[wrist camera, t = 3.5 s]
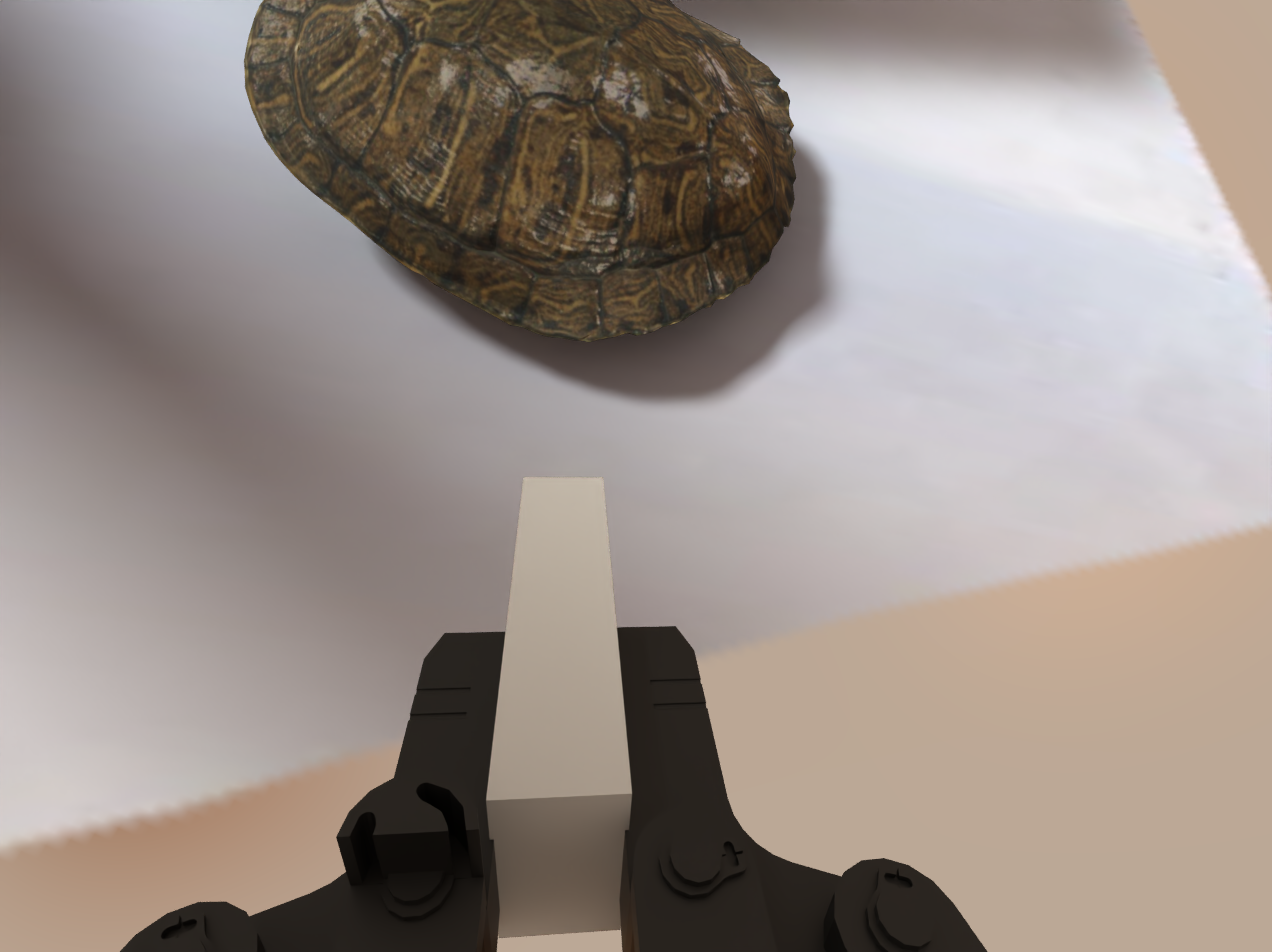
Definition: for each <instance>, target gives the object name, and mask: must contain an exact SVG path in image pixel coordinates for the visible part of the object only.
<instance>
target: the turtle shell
mask: <svg viewBox="0 0 1272 952" xmlns="http://www.w3.org/2000/svg"><path fill="white" fill-rule="evenodd" d="M244 67H245V89H246V92H247V95H248V99H249V102H250V105H251V108H252V111H253V113H254V115H255V118H256V120H257V122H258V125H259V127H260V129H261V131H262V134H263V136H264V138H265V140H266V141H267V143H268V144H269V146H270V147H271V149H272V150H273V152H274V153H275V155H276V156H277V157H278V158H279V160H280V161H281V162H282V163H283V164H284V165H285V166H286V167H287V169H288V170H289V171H290V172H291V173H292V174H293V175H294V176H295V177H296V178H297V179H298V180H299V181H300V182H301V183H302V184H303V185H305V186H306V187H307V188H308V189H309V190H310V191H311V192H313V193H314V194H315V195H316V196H318V197H319V198H320V199H322V200H323V201H324V202H326V203H327V204H328V205H330V206H331V207H332V208H333V209H335V210H336V211H337V212H339V213H340V214H341V215H342V216H344V217H345V218H346V219H348V220H349V221H350V222H351V223H353V224H354V225H355V226H356V227H357V228H358V229H360V230H361V231H362V232H363V233H364V234H365V235H367V236H368V237H369V238H370V239H371V240H373V241H374V242H375V243H376V244H378V245H379V246H380V247H381V248H382V249H384V250H385V251H386V252H387V253H389V254H390V255H391V256H392V257H394V258H395V259H396V260H398V261H399V262H400V263H402V264H403V265H405V266H406V267H407V268H409V269H410V270H412V271H414V272H416V273H419V274H421V275H423V276H424V277H426V278H427V279H428V280H429V281H431V282H432V283H433V284H435V285H437V286H439V287H440V288H442V289H444V290H446V291H448V292H450V293H452V294H453V295H455V296H457V297H459V298H461V299H463V300H465V301H467V302H469V303H470V304H472V305H474V306H476V307H478V308H480V309H482V310H484V311H486V312H488V313H490V314H491V315H493V316H495V317H497V318H498V319H500V320H502V321H504V322H506V323H507V324H509V325H513V326H520V327H523V328H525V329H528V330H530V331H532V332H534V333H537V334H540V335H544V336H547V337H558V338H565V339H571V340H580V341H586V342H592V341H595V340H599V339H604V338H610V337H615V336H619V335H622V334H625V333H630V334H633V335H636V336H637V335H642V334H646V333H650V332H653V331H655V330H657V329H659V328H661V327H664V326H667V325H671V324H675V323H678V322H680V321H682V320H684V319H685V318H687V317H688V316H690V315H691V314H693V313H695V312H696V311H698V310H700V309H702V308H708V307H711V306H712V305H713V303H714V302H715V300H716V299H725V298H726V297H727V296H729V295H730V294H732V293H733V292H734V291H735V290H736V289H737V288H738V287H740V286H743V285H746V284H749V283H750V281H751V280H752V278H753V277H754V275H755V274H756V273H757V272H758V271H759V270H760V269H761V268H762V267H763V266H764V265H765V264H767V263H768V262H769V259H770V255H771V251H772V249H773V247H774V246H775V245H776V244H777V242H778V241H779V239H780V237H781V235H782V234H783V232H784V227H789V224H790V221H791V217H790V213H791V210H792V207H793V204H794V191H793V183H794V181H795V179H796V174H795V170H794V165H793V161H792V159H793V157H794V155H795V153H796V151H795V149H794V148H793V141H792V139H791V137H790V136H789V134H790V132H791V130H792V128H793V126H794V125H793V123H792V121H791V119H790V116H789V104H790V100H789V97H788V93H787V92H785V91H784V90H782V89H781V88H780V87H779V86H778V84H779V82H780V79H779V78H777V77H776V76H775V75H774V74H773V73H772V71H771V70H770V68H769V67H768V66H766V65H765V64H763V63H762V62H761V61H759V60H758V59H756V58H755V57H754V56H753V55H751V54H750V53H749V52H748V51H746V50H745V49H744V48H743V47H742V46H741V45H740V39H737V38H735V37H732V36H730V35H728V34H726V33H724V32H722V31H720V30H718V29H716V28H714V27H713V26H711V25H709V24H707V23H705V22H703V21H700V20H698V19H696V18H694V17H692V16H690V15H688V14H686V13H684V12H682V11H681V10H679V9H678V8H677V7H675V5H674V4H673V3H672V2H671V1H670V0H263V2H262V3H261V4H260V6H259V8H258V11H257V13H256V16H255V18H254V21H253V25H252V28H251V31H250V34H249V38H248V42H247V47H246V53H245V59H244Z"/></svg>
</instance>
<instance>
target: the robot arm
mask: <svg viewBox="0 0 1272 952" xmlns="http://www.w3.org/2000/svg"><path fill="white" fill-rule="evenodd" d="M336 838H337V841H338V845H339V848H340V852H341V855H342V859H343V862H344V866H345V869H346V872H345V873H344V874H343V875H341V876H340V877H338V878H337V879H336V880H334V881H333V882H332V883H330V884H328V885H326V886H324V887H322V888H320V889H318V890H316V891H314V892H312V893H310V894H308V895H305V896H302V897H299V898H297V899H294V900H291V901H289V902H286V903H284V904H281V905H278V906H276V907H273V908H270V909H268V910H265V911H263V912H260V913H257V914H255V915H252V916H248V914H247V912H245V911H244V910H241V909H239V908H238V907H235V906H233V905H231V904H229V903H227V902H197V903H195V904H192V905H189V906H186V907H184V908H181V909H178V910H175V911H173V912H170V913H167V914H166V915H164V916H163V917H161V918H160V919H158V920H157V921H155V922H154V923H152V924H151V925H149V926H148V927H147V928H145V929H144V930H142V931H141V932H139V933H138V934H136V935H135V936H134V937H133V938H132V939H131V940H130V941H129V942H128V944H127V945H126V946H125V947H124V948H123V949H122V950H121V951H120V952H497V939H498V935H499V938H507V937H521V936H535V935H549V934H564V933H579V932H594V931H608V930H620V928H621V935H622V950H623V952H987V951H986V949H985V948H984V946H983V945H982V943H981V942H980V941H979V939H978V938H977V936H976V935H975V933H974V932H973V931H972V929H971V928H970V926H969V925H968V923H967V922H966V921H965V919H964V918H963V916H962V915H961V913H960V912H959V911H958V909H957V908H956V907H955V905H954V904H953V902H952V901H951V900H950V899H949V898H948V897H947V896H946V895H945V894H944V893H943V892H942V890H941V889H940V888H939V887H938V886H937V885H936V884H935V883H934V882H933V881H932V880H931V879H929V878H928V877H926V876H924V875H923V874H921V873H920V872H918V871H917V870H915V869H914V868H912V867H910V866H909V865H906V864H902V863H899V862H895V861H892V860H888V859H884V858H882V859H872V860H863V861H860V862H859V863H857V864H856V865H854V866H853V867H851V868H850V869H848V870H847V871H845V872H844V873H843V875H842V877H841V876H838V875H834V874H830V873H827V872H823V871H820V870H817V869H813V868H810V867H806V866H803V865H799V864H796V863H792V862H790V861H787V860H785V859H782V858H780V857H777V856H775V855H773V854H771V853H770V852H768V851H767V850H765V849H764V848H762V847H761V846H760V845H758V844H757V843H756V842H755V841H754V840H753V839H752V838H751V837H750V836H749V835H748V834H747V833H746V832H745V831H744V830H743V829H742V827H741V826H740V824H739V822H738V821H737V819H736V818H735V816H734V815H733V812H732V809H731V806H730V803H729V801H728V797H727V793H726V789H725V784H724V780H723V775H722V771H721V767H720V762H719V758H718V753H717V749H716V745H715V740H714V736H713V731H712V727H711V723H710V719H709V714H708V709H707V708H706V701H705V696H704V692H703V688H702V684H701V683H700V675H699V670H698V665H697V661H696V657H695V652H694V650H693V648H692V647H691V646H690V644H689V643H688V642H687V641H686V639H685V638H684V637H683V635H682V634H681V633H680V632H679V630H678V629H677V628H676V626H669V627H620V628H617V624H616V613H615V602H614V592H613V581H612V570H611V559H610V548H609V537H608V526H607V515H606V505H605V494H604V483H603V477H523V485H522V494H521V503H520V511H519V520H518V529H517V537H516V546H515V555H514V563H513V572H512V581H511V589H510V598H509V606H508V615H507V624H506V632H475V633H444V635H443V636H442V637H441V638H440V640H439V641H438V642H437V643H436V645H435V646H434V647H433V648H432V650H431V651H430V652H429V653H428V655H427V656H426V657H425V659H424V662H423V665H422V669H421V673H420V677H419V681H418V685H417V693H416V695H415V697H414V701H413V705H412V709H411V713H410V720H409V721H408V724H407V728H406V732H405V736H404V740H403V744H402V748H401V752H400V756H399V760H398V764H397V768H396V772H395V776H394V778H393V779H391V780H389V781H387V782H386V783H384V784H382V785H380V786H378V787H376V788H374V789H373V790H371V791H370V792H369V793H368V794H367V795H366V796H365V797H364V798H363V799H362V800H360V802H358V803H357V805H355V807H354V808H353V809H351V810H350V812H349V813H348V815H347V817H346V819H345V821H344V823H343V825H342V827H341V829H340V831H339V833H338V835H337V837H336Z"/></svg>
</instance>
